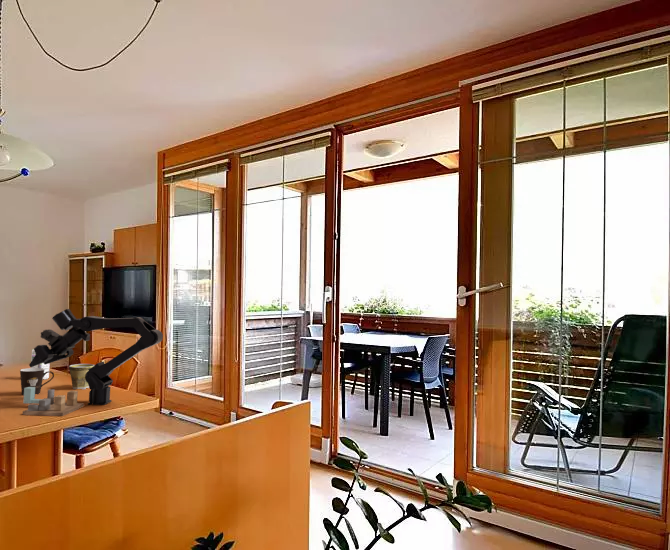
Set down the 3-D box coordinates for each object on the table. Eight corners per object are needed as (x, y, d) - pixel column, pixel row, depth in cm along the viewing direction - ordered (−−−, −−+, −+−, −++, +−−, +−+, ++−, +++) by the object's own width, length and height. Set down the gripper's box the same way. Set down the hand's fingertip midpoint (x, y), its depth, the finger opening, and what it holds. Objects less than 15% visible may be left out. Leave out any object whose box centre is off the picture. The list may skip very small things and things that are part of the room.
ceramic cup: (93, 389, 208) (94, 366, 208) (67, 391, 203) (69, 367, 204) (93, 384, 219) (94, 362, 220) (68, 385, 215) (69, 363, 215)
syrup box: (29, 379, 224) (31, 349, 225) (40, 377, 230) (42, 347, 230) (38, 380, 223) (40, 349, 223) (49, 378, 228) (51, 348, 229)
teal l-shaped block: (46, 402, 177) (47, 387, 177) (42, 403, 174) (43, 388, 174) (27, 401, 177) (28, 386, 177) (23, 403, 174) (24, 388, 174)
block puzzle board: (83, 406, 178) (84, 389, 178) (62, 416, 164) (63, 397, 164) (47, 405, 178) (48, 387, 178) (22, 414, 164) (23, 395, 165)
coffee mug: (15, 396, 191) (16, 371, 191) (23, 391, 199) (24, 368, 199) (47, 395, 194) (48, 371, 194) (53, 391, 202) (55, 367, 202)
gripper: (70, 322, 194) (39, 347, 193) (43, 323, 176) (8, 350, 175) (86, 343, 194) (55, 368, 193) (61, 347, 175) (26, 374, 174)
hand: (37, 364), depth 184 cm, fingers open, 9 cm apart
